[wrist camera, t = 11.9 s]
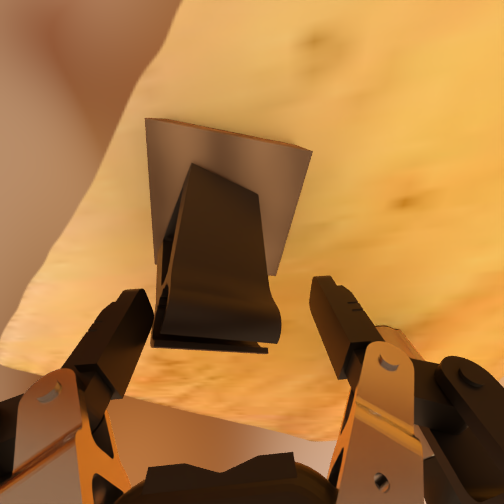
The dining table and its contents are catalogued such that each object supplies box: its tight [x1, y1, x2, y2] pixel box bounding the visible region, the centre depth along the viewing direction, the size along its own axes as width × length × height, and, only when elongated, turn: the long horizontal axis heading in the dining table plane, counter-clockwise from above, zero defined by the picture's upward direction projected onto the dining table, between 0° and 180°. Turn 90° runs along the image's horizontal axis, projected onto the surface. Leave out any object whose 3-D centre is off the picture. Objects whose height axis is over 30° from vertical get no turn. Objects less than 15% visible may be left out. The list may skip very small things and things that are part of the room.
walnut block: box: [145, 118, 313, 276], centre depth 22 cm, size 13×13×6 cm
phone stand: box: [150, 163, 281, 354], centre depth 15 cm, size 9×6×12 cm, turn 151°
